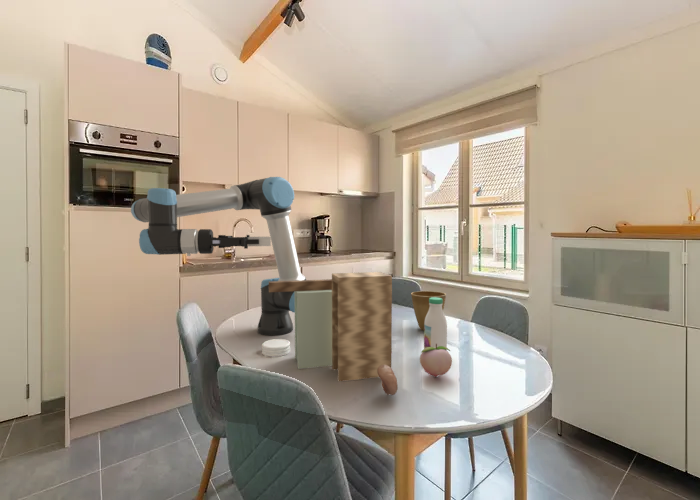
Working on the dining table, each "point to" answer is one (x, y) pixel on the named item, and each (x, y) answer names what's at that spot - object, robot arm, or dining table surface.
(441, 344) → the milk bottle
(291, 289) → the wooden square beam
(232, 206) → the robot arm
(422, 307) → the plant pot
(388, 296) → the brown wooden tall box
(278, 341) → the coaster
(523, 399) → the dining table surface
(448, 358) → the decorative fruit
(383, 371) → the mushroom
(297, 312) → the sage green rectangular block
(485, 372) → the dining table surface
